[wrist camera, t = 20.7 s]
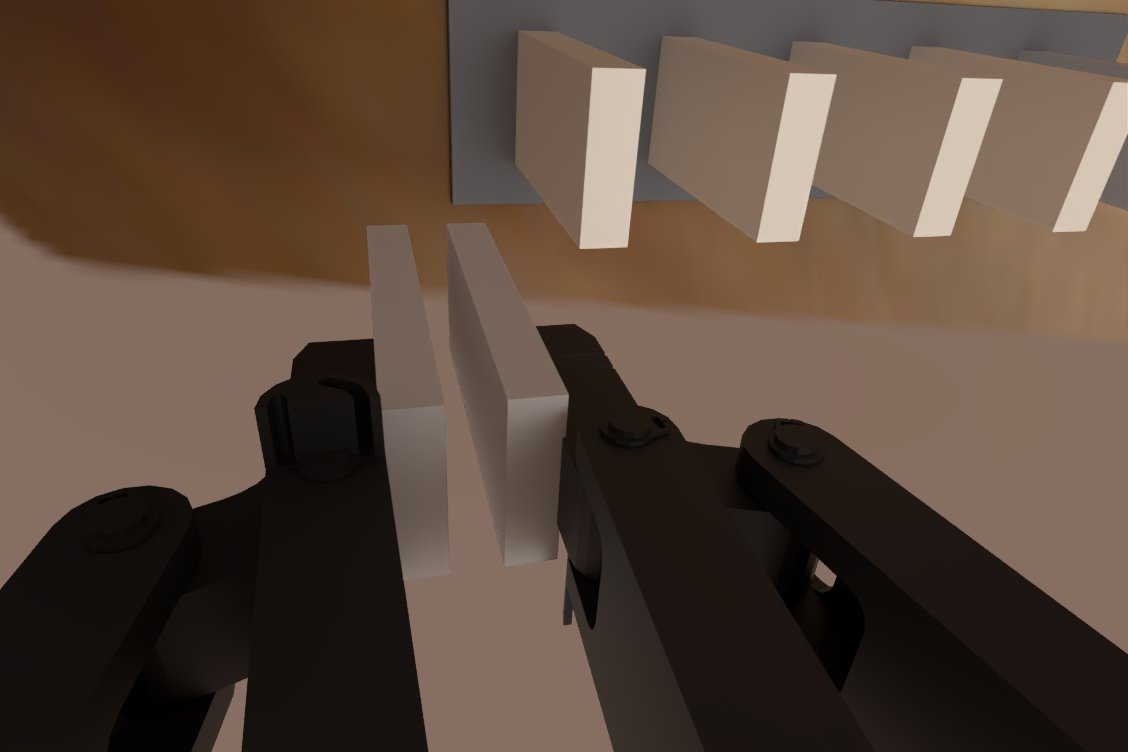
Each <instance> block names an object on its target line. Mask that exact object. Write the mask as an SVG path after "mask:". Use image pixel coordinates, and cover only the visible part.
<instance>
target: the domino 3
mask: <svg viewBox="0 0 1128 752" xmlns="http://www.w3.org/2000/svg"><path fill="white" fill-rule="evenodd" d="M789 62H792V63H796V64H799V65H803V66H807V67H811V68H814V69H818V70H822V71H826V72H829V73H833V74H837V76H836V80H835V85H834V89H833V93H832V98H831V102H830V106H829V111H828V115H827V119H826V124H825V128H824V133H823V137H822V141H821V146H820V150H819V154H818V159H817V163H816V168H815V172H814V176H813V181H812V185H814V186H815V187H817V188H819V189H821V190H823V191H825V192H827V193H829V194H831V195H833V196H835V197H837V198H839V199H841V200H843V201H844V202H846V203H848V204H850V205H852V206H854V207H856V208H858V209H860V210H862V211H864V212H866V213H868V214H870V215H871V216H873V217H875V218H877V219H879V220H881V221H883V222H885V223H887V224H889V225H891V226H893V227H895V228H897V229H898V230H900V231H902V232H904V233H906V234H908V235H910V236H912V237H928V236H950V235H951V232H952V229H953V226H954V223H955V221H956V218H957V215H958V212H959V209H960V206H961V203H962V200H963V197H964V194H965V191H966V188H967V185H968V182H969V179H970V176H971V173H972V170H973V167H974V164H975V161H976V158H977V155H978V152H979V149H980V146H981V143H982V140H983V137H984V134H985V131H986V129H987V126H988V123H989V120H990V117H991V114H992V111H993V108H994V105H995V102H996V99H997V96H998V93H999V90H1000V87H1001V84H1002V81H1003V79H1000V78H995V77H990V76H986V75H981V74H976V73H971V72H966V71H961V70H956V69H951V68H947V67H942V66H937V65H932V64H927V63H922V62H917V61H912V60H908V59H903V58H898V57H893V56H888V55H883V54H878V53H873V52H869V51H864V50H859V49H854V48H849V47H844V46H839V45H834V44H830V43H825V42H801V41H793V44H792V49H791V54H790V59H789Z"/></svg>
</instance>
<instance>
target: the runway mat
mask: <svg viewBox="0 0 1128 752" xmlns="http://www.w3.org/2000/svg"><path fill="white" fill-rule="evenodd" d="M518 30H527V31H552V32H559V33H561V34H563V35H566V36H568V37H571V38H573V39H575V40H578V41H580V42H583V43H585V44H587V45H590V46H592V47H594V48H597V49H599V50H602V51H604V52H606V53H609V54H611V55H614V56H616V57H618V58H621V59H623V60H626V61H628V62H630V63H633V64H635V65H638V66H640V67H642V68H645V69H646V75H645V84H644V94H643V103H642V113H641V122H640V132H639V141H638V151H637V160H636V170H635V179H634V189H633V198H632V201H680V200H698V199H696V198H695V197H694V196H692V195H691V194H689V193H688V192H687V191H685V190H684V189H683V188H681V187H680V186H678V185H677V184H676V183H674V182H673V181H672V180H670V179H669V178H668V177H666V176H665V175H663V174H662V173H661V172H659V171H658V170H657V169H655V168H654V167H652V166H651V165H650V164H648V158H649V149H650V140H651V132H652V123H653V114H654V105H655V96H656V87H657V79H658V70H659V61H660V52H661V43H662V36H676V37H698V38H701V39H705V40H709V41H713V42H717V43H720V44H724V45H728V46H732V47H735V48H739V49H743V50H747V51H750V52H754V53H758V54H762V55H765V56H769V57H773V58H777V59H781V60H784V61H788V62H789V59H790V54H791V49H792V44H793V41H801V42H825V43H830V44H834V45H839V46H844V47H849V48H854V49H859V50H864V51H869V52H873V53H878V54H883V55H888V56H893V57H898V58H903V59H908V58H909V55H910V51H911V47H912V46H925V47H943V48H949V49H954V50H960V51H966V52H972V53H978V54H983V55H989V56H995V57H1001V58H1006V59H1012V60H1017V59H1018V56H1019V53H1020V50H1027V51H1048V52H1054V53H1061V54H1067V55H1074V56H1080V57H1087V58H1093V59H1100V60H1106V61H1113V62H1116V60H1117V58H1118V55H1119V53H1120V50H1121V48H1122V45H1123V43H1124V40H1125V38H1126V36H1127V33H1128V15H1126V14H1109V13H1091V12H1074V11H1056V10H1039V9H1022V8H1004V7H987V6H969V5H952V4H935V3H917V2H900V1H882V0H448V42H449V89H450V136H451V183H452V203H453V205H470V204H523V203H544V201H543V200H542V199H541V197H540V196H539V195H538V193H537V192H536V191H535V189H534V188H533V187H532V185H531V184H530V183H529V181H528V180H527V179H526V178H525V176H524V175H523V174H522V172H521V171H520V170H519V168H518V167H517V166H516V164H515V149H516V105H517V61H518ZM809 198H836V197H835V196H833V195H831V194H829V193H827V192H825V191H823V190H821V189H819V188H817V187H815V186H814V185H811V189H810V194H809Z"/></svg>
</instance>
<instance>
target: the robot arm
mask: <svg viewBox="0 0 1128 752" xmlns="http://www.w3.org/2000/svg"><path fill="white" fill-rule="evenodd" d="M446 232H447V271H448V309H449V347H450V351H451V355H452V359H453V363H454V367H455V371H456V375H457V379H458V383H459V387H460V391H461V395H462V399H463V403H464V407H465V411H466V415H467V419H468V423H469V427H470V431H471V435H472V439H473V443H474V447H475V451H476V455H477V459H478V463H479V466H480V471H481V475H482V479H483V483H484V487H485V491H486V495H487V499H488V503H489V506H490V511H491V515H492V519H493V523H494V527H495V531H496V535H497V539H498V543H499V547H500V551H501V555H502V559H503V563H504V566H511V565H519V564H526V563H533V562H540V561H547V560H553V559H557V556H558V542H559V530H560V533H561V536H562V538H563V541H564V544H565V547H566V550H567V553H568V559H567V572H566V584H565V596H564V609H563V625H570V624H571V622H572V611H573V610H574V613H575V617H576V620H577V624H578V627H579V631H580V634H581V638H582V641H583V645H584V648H585V652H586V655H587V659H588V663H589V666H590V669H591V673H592V676H593V680H594V684H595V687H596V691H597V694H598V698H599V701H600V705H601V708H602V712H603V715H604V719H605V722H606V725H607V729H608V733H609V736H610V740H611V743H612V747H613V750H614V752H1128V654H1127V653H1125V652H1124V651H1123V650H1121V649H1120V648H1119V647H1117V646H1116V645H1115V644H1113V643H1112V642H1111V641H1109V640H1108V639H1107V638H1105V637H1104V636H1103V635H1101V634H1100V633H1099V632H1097V631H1096V630H1094V629H1093V628H1092V627H1090V626H1089V625H1088V624H1086V623H1085V622H1084V621H1082V620H1081V619H1080V618H1078V617H1077V616H1076V615H1074V614H1073V613H1072V612H1070V611H1069V610H1068V609H1066V608H1065V607H1064V606H1062V605H1060V604H1059V603H1058V602H1057V601H1055V600H1054V599H1053V598H1051V597H1050V596H1049V595H1047V594H1046V593H1045V592H1043V591H1042V590H1041V589H1039V588H1038V587H1036V586H1035V585H1034V584H1032V583H1031V582H1030V581H1028V580H1027V579H1025V578H1024V577H1023V576H1021V575H1020V574H1019V573H1018V572H1016V571H1015V570H1014V569H1012V568H1011V567H1010V566H1008V565H1007V564H1006V563H1004V562H1003V561H1001V560H1000V559H999V558H998V557H996V556H995V555H993V554H992V553H991V552H989V551H988V550H987V549H985V548H984V547H983V546H981V545H980V544H979V543H977V542H976V541H974V540H973V539H972V538H971V537H969V536H968V535H967V534H965V533H964V532H962V531H961V530H960V529H958V528H957V527H956V526H954V525H953V524H952V523H950V522H949V521H948V520H946V519H945V518H944V517H942V516H941V515H939V514H938V513H937V512H936V511H934V510H933V509H931V508H930V507H929V506H927V505H926V504H925V503H923V502H922V501H921V500H919V499H918V498H917V497H915V496H914V495H912V494H911V493H910V492H908V491H907V490H906V489H904V488H903V487H902V486H901V485H899V484H898V483H897V482H895V481H894V480H892V479H891V478H890V477H888V476H887V475H886V474H884V473H883V472H882V471H880V470H879V469H877V468H876V467H875V466H874V465H872V464H871V463H870V462H868V461H867V460H866V459H864V458H863V457H861V456H860V455H859V454H857V453H856V452H855V451H853V450H852V449H851V448H849V447H848V446H847V445H845V444H844V443H842V442H841V441H840V440H839V439H837V438H836V437H834V436H833V435H831V434H829V433H828V432H825V431H824V430H822V429H821V428H819V427H817V426H813V425H810V424H807V423H804V422H802V421H799V420H794V419H791V420H789V419H781V418H776V419H768V420H767V419H766V420H760V421H758V422H756V423H754V424H752V425H750V426H748V428H747V429H746V431H745V432H744V433H743V435H742V439H741V444H740V448H734V447H725V446H724V447H723V446H715V445H705V444H699V443H693V442H688V441H686V440H685V439H684V437H683V435H682V434H681V432H680V430H679V429H678V427H677V426H676V425H675V424H674V423H673V422H672V421H671V420H670V419H669V418H668V417H666V416H665V415H662V414H661V413H659V412H657V411H655V410H653V409H650V408H646V407H642V406H638V405H637V403H636V402H635V400H634V399H633V397H632V395H631V394H630V392H629V391H628V389H627V388H626V386H625V384H624V383H623V381H622V380H621V378H620V376H619V375H618V373H617V372H616V370H615V369H613V366H612V364H611V362H610V361H609V359H608V357H607V356H605V353H604V351H603V349H602V348H601V346H600V344H599V343H598V341H597V340H596V338H595V337H594V336H593V335H591V334H589V333H588V332H586V331H585V330H583V329H582V328H580V327H578V326H577V325H575V324H566V325H550V326H535V324H534V322H533V320H532V318H531V316H530V314H529V312H528V310H527V308H526V306H525V304H524V302H523V300H522V298H521V296H520V294H519V292H518V290H517V288H516V285H515V283H514V281H513V279H512V277H511V275H510V273H509V271H508V269H507V267H506V265H505V263H504V261H503V259H502V257H501V255H500V253H499V251H498V249H497V247H496V245H495V243H494V241H493V239H492V236H491V234H490V232H489V230H488V228H487V226H486V224H485V223H455V224H446ZM367 241H368V257H369V273H370V288H371V303H372V320H373V335H374V339H360V340H345V341H329V342H313V343H308V345H307V346H306V347H305V348H304V349H303V350H302V351H301V352H300V353H299V354H298V355H297V356H296V357H295V358H294V359H293V364H292V371H291V379H289V380H287V381H284V382H281V383H279V384H277V385H275V386H273V387H272V388H271V389H270V390H268V391H267V392H265V393H264V394H263V395H262V396H260V398H259V400H258V402H257V405H256V406H255V408H254V410H255V415H256V420H257V426H258V431H259V436H260V442H261V447H262V452H263V458H264V463H265V468H266V474H265V477H264V478H263V479H262V480H261V481H260V482H258V483H257V484H255V485H254V486H252V487H250V488H248V489H246V490H245V491H243V492H241V493H238V494H236V495H233V496H231V497H228V498H225V499H223V500H220V501H216V502H213V503H210V504H207V505H203V506H200V507H197V508H194V509H192V507H191V505H190V502H189V501H188V498H187V497H185V496H184V495H182V494H180V493H179V492H177V491H175V490H173V489H171V488H164V487H156V486H140V487H130V488H123V489H119V490H116V491H112V492H109V493H106V494H103V495H99V496H96V497H94V498H93V499H90V500H88V501H87V502H85V503H83V504H81V505H79V506H77V507H75V508H73V509H72V510H70V511H69V512H68V513H67V514H66V515H64V516H63V517H62V518H61V519H60V520H59V521H58V522H57V523H55V524H54V525H53V526H52V527H51V529H50V530H49V531H48V532H47V533H46V535H45V536H44V537H43V538H42V539H41V541H40V542H39V543H38V544H37V546H36V547H35V548H34V549H33V550H32V552H31V553H30V554H29V555H28V556H27V558H26V559H25V560H24V561H23V563H22V564H21V565H20V566H19V568H18V569H17V570H16V571H15V572H14V574H13V575H12V576H11V577H10V578H9V580H8V581H7V582H6V583H5V584H4V586H3V587H2V588H1V590H0V752H211V751H212V749H213V746H214V744H215V741H216V738H217V736H218V733H219V731H220V728H221V726H222V723H223V720H224V717H225V715H226V713H227V710H228V708H229V705H230V702H231V700H232V697H233V694H234V688H235V683H236V682H239V681H241V680H243V679H246V678H248V682H247V695H246V706H245V717H244V729H243V740H242V752H428V747H427V739H426V732H425V726H424V719H423V712H422V705H421V698H420V692H419V684H418V677H417V670H416V664H415V657H414V649H413V642H412V636H411V629H410V622H409V615H408V608H407V601H406V594H405V588H404V581H406V580H413V579H420V578H428V577H435V576H442V575H448V574H450V562H449V529H448V496H447V462H446V430H445V404H444V399H443V394H442V390H441V385H440V380H439V375H438V371H437V366H436V361H435V356H434V351H433V346H432V342H431V337H430V332H429V327H428V323H427V318H426V313H425V308H424V304H423V299H422V294H421V289H420V284H419V279H418V275H417V270H416V265H415V260H414V255H413V251H412V246H411V241H410V236H409V231H408V227H407V225H377V226H367ZM819 560H821V561H822V562H823V563H824V564H825V565H826V566H827V567H828V568H829V569H830V570H831V571H832V572H833V573H834V574H835V575H836V576H837V577H836V580H835V583H834V585H833V587H830V586H828V585H826V584H825V583H824V582H822V581H821V580H820V579H819V578H818V577H817V576H816V575H815V574H814V573H815V570H816V567H817V564H818V561H819Z"/></svg>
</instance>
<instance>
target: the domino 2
mask: <svg viewBox="0 0 1128 752" xmlns="http://www.w3.org/2000/svg"><path fill="white" fill-rule="evenodd" d="M836 76H837V74H833V73H829V72H826V71H822V70H818V69H814V68H811V67H807V66H803V65H799V64H796V63H792V62H788V61H784V60H781V59H777V58H773V57H769V56H765V55H762V54H758V53H754V52H750V51H747V50H743V49H739V48H735V47H732V46H728V45H724V44H720V43H717V42H713V41H709V40H705V39H701V38H698V37H676V36H662V43H661V52H660V61H659V70H658V79H657V87H656V96H655V105H654V114H653V123H652V132H651V140H650V149H649V158H648V164H650V165H651V166H652V167H654V168H655V169H657V170H658V171H659V172H661V173H662V174H663V175H665V176H666V177H668V178H669V179H670V180H672V181H673V182H674V183H676V184H677V185H678V186H680V187H681V188H683V189H684V190H685V191H687V192H688V193H689V194H691V195H692V196H694V197H695V198H696V199H698V200H699V201H700V202H702V203H703V204H705V205H706V206H707V207H709V208H710V209H711V210H713V211H714V212H715V213H717V214H718V215H720V216H721V217H722V218H724V219H725V220H726V221H728V222H729V223H731V224H732V225H733V226H735V227H736V228H737V229H739V230H740V231H741V232H743V233H744V234H746V235H747V236H748V237H750V238H751V239H752V240H754V241H755V242H757V243H758V242H787V241H799V238H800V233H801V229H802V224H803V220H804V216H805V211H806V207H807V203H808V198H809V194H810V189H811V185H812V181H813V176H814V172H815V168H816V163H817V159H818V154H819V150H820V146H821V141H822V137H823V133H824V128H825V124H826V119H827V115H828V111H829V106H830V102H831V98H832V93H833V89H834V85H835V80H836Z"/></svg>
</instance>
